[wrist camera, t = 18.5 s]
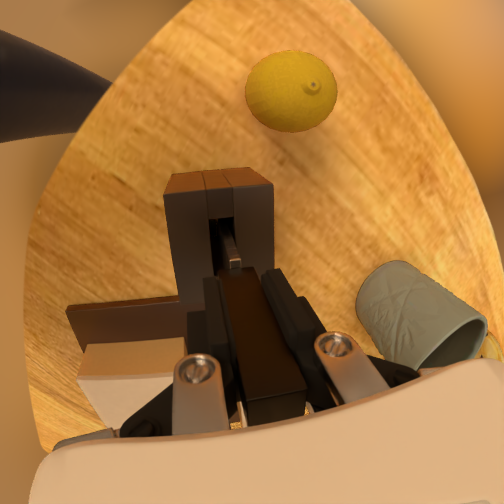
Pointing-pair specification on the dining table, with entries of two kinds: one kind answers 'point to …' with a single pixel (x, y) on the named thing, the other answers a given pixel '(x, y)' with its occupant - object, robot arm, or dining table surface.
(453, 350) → the grey green embossed vase
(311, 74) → the lemon
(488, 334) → the chocolate bunny
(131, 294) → the dining table surface
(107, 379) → the cake
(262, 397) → the knife
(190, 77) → the dining table surface
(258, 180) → the knife block
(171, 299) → the cake board
